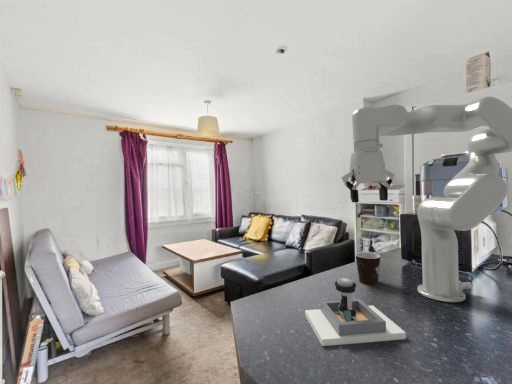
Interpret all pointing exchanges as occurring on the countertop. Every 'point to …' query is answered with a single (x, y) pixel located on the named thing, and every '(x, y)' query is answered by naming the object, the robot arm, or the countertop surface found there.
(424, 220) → the robot arm
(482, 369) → the countertop surface
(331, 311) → the dock board
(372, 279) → the coffee mug
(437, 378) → the countertop surface
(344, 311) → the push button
